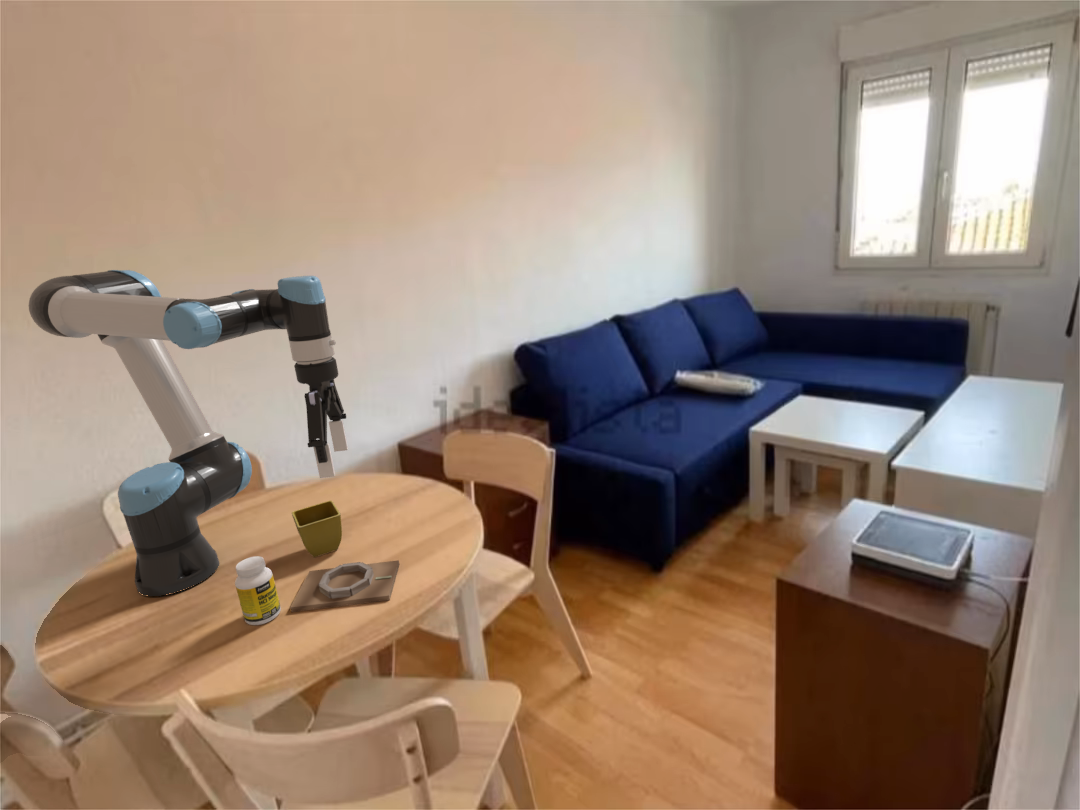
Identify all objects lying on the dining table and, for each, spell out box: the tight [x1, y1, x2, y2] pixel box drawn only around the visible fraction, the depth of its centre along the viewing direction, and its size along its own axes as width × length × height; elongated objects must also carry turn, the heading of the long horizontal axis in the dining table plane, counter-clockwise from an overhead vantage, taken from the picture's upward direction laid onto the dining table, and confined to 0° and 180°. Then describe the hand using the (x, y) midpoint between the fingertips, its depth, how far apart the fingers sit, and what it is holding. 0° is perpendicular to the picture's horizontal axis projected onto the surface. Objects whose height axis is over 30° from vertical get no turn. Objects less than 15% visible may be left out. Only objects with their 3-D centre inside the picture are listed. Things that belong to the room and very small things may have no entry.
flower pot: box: [291, 500, 343, 558], centre depth 129 cm, size 9×9×9 cm
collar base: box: [290, 559, 400, 613], centre depth 115 cm, size 18×12×2 cm, turn 94°
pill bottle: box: [234, 556, 282, 626], centre depth 107 cm, size 6×6×11 cm
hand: (334, 462), depth 119 cm, fingers open, 13 cm apart
